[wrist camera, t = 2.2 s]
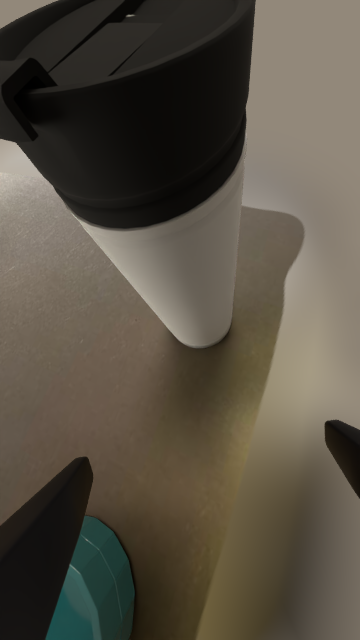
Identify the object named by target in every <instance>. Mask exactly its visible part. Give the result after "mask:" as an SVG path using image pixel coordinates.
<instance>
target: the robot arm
mask: <svg viewBox="0 0 360 640" xmlns="http://www.w3.org/2000/svg"><path fill="white" fill-rule="evenodd" d="M325 441H326V445H327V447H328V448H329V450H330V452H331V454H332V455H333V457H334V459H335V460H336V462H337V464H338V465H339V467H340V469H341V470H342V472H343V473H344V475H345V477H346V478H347V480H348V482H349V483H350V485H351V486H352V488H353V490H354V491H355V493H356V494H357V496H358V497H359V498H360V430H359V429H357V428H354V427H352V426H350V425H348V424H346V423H344V422H341V421H339V420H331V421H326V422H325ZM92 482H93V472H92V469H91V466H90V462H89V459H88V458H87V457H79V458H76V459H74V460H73V461H72V462H71V463H70V464H69V465H68V466H66V467H65V468H64V469H63V470H62V471H61V472H60V473H59V474H57V475H56V476H55V477H54V478H53V479H52V480H51V481H50V482H49V483H47V484H46V485H45V486H44V487H43V488H42V489H41V490H40V491H39V492H37V493H36V494H35V495H34V496H33V497H32V498H31V499H30V500H29V501H27V502H26V503H25V504H24V505H23V506H22V507H21V508H20V509H19V510H17V511H16V512H15V513H14V514H13V515H12V516H11V517H10V518H9V519H7V520H6V521H5V522H4V523H3V524H2V525H1V526H0V640H45V639H46V636H47V633H48V630H49V627H50V624H51V621H52V618H53V615H54V612H55V609H56V606H57V603H58V599H59V596H60V593H61V590H62V587H63V584H64V581H65V578H66V575H67V572H68V569H69V566H70V563H71V560H72V557H73V554H74V550H75V547H76V544H77V541H78V538H79V535H80V532H81V528H82V524H83V521H84V516H85V512H86V508H87V504H88V499H89V495H90V491H91V487H92Z"/></svg>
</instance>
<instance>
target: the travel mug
mask: <svg viewBox="0 0 360 640" xmlns="http://www.w3.org/2000/svg"><path fill="white" fill-rule="evenodd" d="M255 1H256V0H58V1H56V2H53V3H51V4H48V5H46V6H44V7H42V8H39V9H37V10H35V11H33V12H31V13H28V14H27V15H25V16H23V17H20V18H19V19H16V20H15V21H13V22H11V23H10V24H8V25H6V26H5V27H3V28H1V29H0V139H4V140H8V141H12V142H16V143H17V145H19V147H20V148H21V149H22V151H23V152H24V153H25V154H26V155H27V157H28V158H29V159H30V160H31V162H32V163H33V164H34V166H35V167H36V168H37V169H38V171H39V172H40V173H41V174H42V175H43V177H44V178H45V179H46V180H48V181H49V182H50V183H51V184H52V185H53V187H54V189H55V191H56V192H57V194H58V195H59V196H60V197H61V198H62V200H63V201H64V203H65V205H66V207H67V208H68V210H69V211H70V212H71V213H72V214H73V216H74V217H75V218H76V219H77V220H78V221H79V222H80V223H81V224H82V226H83V228H84V229H85V230H86V231H87V232H88V233H89V235H90V236H91V237H92V238H93V239H94V241H95V242H96V243H97V244H98V245H99V247H100V248H101V249H102V250H103V251H104V253H105V254H106V255H107V256H108V257H109V258H110V260H111V261H112V262H113V263H114V264H115V266H116V267H117V268H118V269H119V270H120V272H121V273H122V274H123V275H124V276H125V278H126V279H127V280H128V281H129V282H130V284H131V285H132V286H133V287H134V288H135V289H136V291H137V292H138V293H139V294H140V295H141V297H142V298H143V299H144V300H145V301H146V303H147V304H148V305H149V306H150V307H151V309H152V310H153V311H154V312H155V313H156V314H157V316H158V317H159V318H160V319H161V320H162V322H163V323H164V324H165V325H166V326H167V328H168V329H169V330H170V331H171V332H172V333H173V335H174V336H175V337H176V338H177V339H178V340H179V341H180V342H181V343H183V344H184V345H186V346H189V347H192V348H207V347H210V346H213V345H215V344H217V343H218V342H220V341H221V340H222V339H223V338H224V337H225V336H226V334H227V333H228V331H229V329H230V326H231V321H232V311H233V299H234V287H235V275H236V263H237V251H238V239H239V228H240V216H241V204H242V191H243V180H244V159H245V154H246V143H247V138H246V103H247V99H248V92H249V79H250V65H251V53H252V40H253V27H254V14H255Z"/></svg>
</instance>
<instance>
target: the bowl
mask: <svg viewBox="0 0 360 640" xmlns="http://www.w3.org/2000/svg"><path fill="white" fill-rule="evenodd" d="M134 600H135V590H134V585H133V580H132V575H131V570H130V564H129V560H128V557H127V555H126V554H125V552H124V550H123V548H122V546H121V545H120V543H119V541H118V539H117V537H116V535H115V534H114V532H113V531H112V530H110V529H109V528H108V527H107V526H105V525H104V524H103V523H102V522H100V521H99V520H98V519H97V518H95V517H90V516H84V521H83V524H82V528H81V532H80V535H79V538H78V541H77V544H76V547H75V550H74V554H73V557H72V560H71V563H70V566H69V569H68V572H67V575H66V578H65V581H64V584H63V587H62V590H61V593H60V596H59V599H58V603H57V606H56V609H55V612H54V615H53V618H52V621H51V624H50V627H49V630H48V633H47V636H46V639H45V640H129V637H130V634H131V631H132V624H133V612H134Z"/></svg>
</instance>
